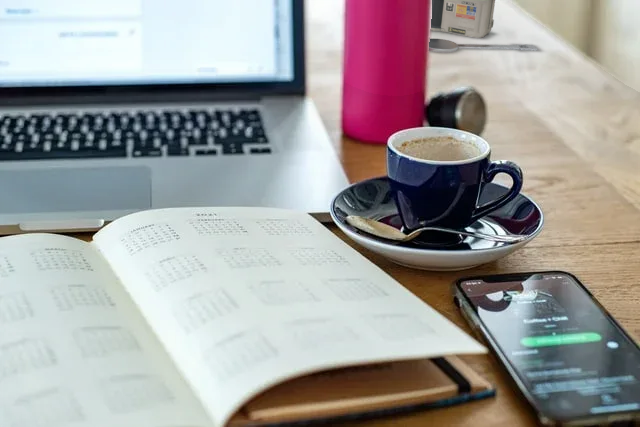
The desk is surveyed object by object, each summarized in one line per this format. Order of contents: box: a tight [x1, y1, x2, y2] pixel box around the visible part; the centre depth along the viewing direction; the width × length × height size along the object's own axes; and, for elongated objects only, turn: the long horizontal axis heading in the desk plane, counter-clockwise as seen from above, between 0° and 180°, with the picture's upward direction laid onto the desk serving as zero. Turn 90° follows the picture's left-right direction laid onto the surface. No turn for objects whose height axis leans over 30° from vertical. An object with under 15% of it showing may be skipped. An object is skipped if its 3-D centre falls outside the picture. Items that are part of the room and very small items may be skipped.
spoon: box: [428, 38, 538, 53], centre depth 124 cm, size 17×5×1 cm, turn 98°
